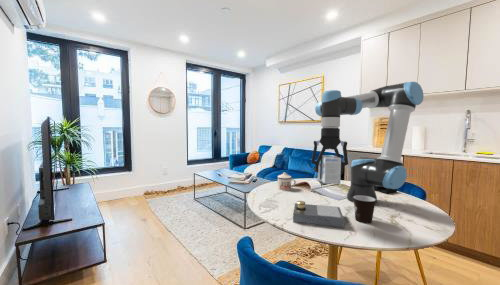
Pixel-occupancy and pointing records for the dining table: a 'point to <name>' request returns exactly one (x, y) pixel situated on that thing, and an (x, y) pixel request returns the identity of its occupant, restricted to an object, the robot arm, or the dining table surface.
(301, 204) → the press pin
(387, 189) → the battery charger
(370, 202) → the coffee mug
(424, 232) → the dining table surface
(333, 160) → the light bulb box
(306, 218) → the plate
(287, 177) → the teacup with lid
